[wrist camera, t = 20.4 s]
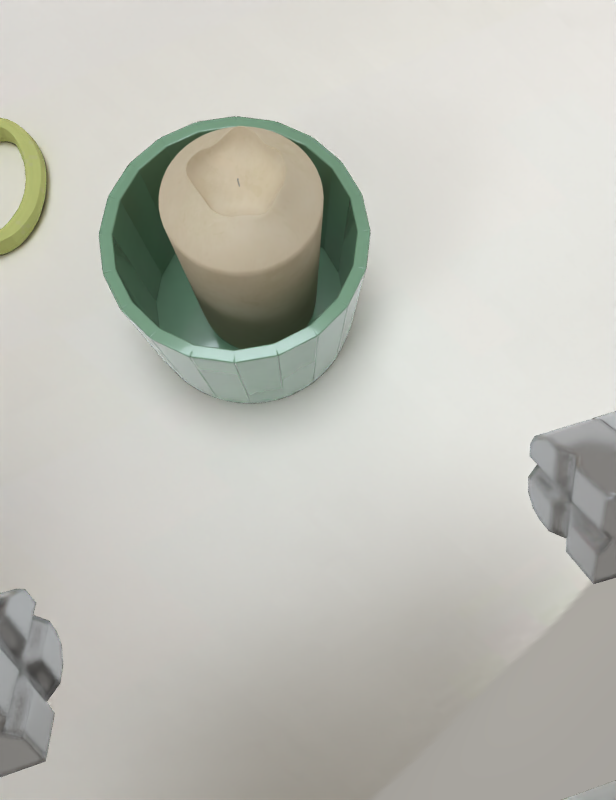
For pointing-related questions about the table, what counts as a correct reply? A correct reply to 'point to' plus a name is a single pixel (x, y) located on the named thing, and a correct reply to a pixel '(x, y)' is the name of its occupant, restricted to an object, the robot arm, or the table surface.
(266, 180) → the candle
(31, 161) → the key
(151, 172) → the cup
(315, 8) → the table surface
